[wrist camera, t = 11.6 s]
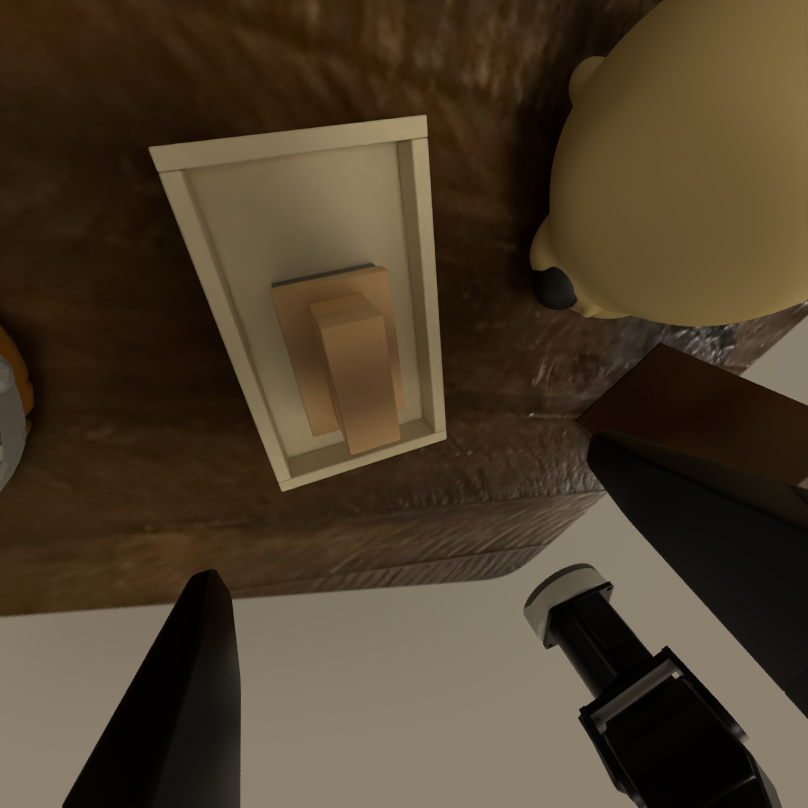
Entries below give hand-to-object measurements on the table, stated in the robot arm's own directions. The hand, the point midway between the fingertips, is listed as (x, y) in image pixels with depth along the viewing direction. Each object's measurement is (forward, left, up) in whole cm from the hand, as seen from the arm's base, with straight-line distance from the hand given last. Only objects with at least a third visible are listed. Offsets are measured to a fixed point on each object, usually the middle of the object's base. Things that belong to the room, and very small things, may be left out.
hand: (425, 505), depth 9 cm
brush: (0, 0, -10) cm, 10 cm away
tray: (+1, 0, -10) cm, 10 cm away
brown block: (-9, -18, -10) cm, 23 cm away
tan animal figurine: (+5, -13, -11) cm, 17 cm away
